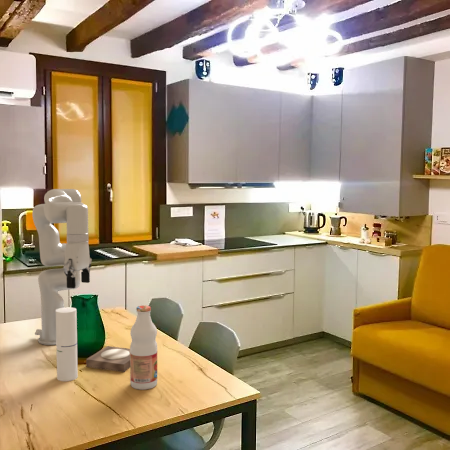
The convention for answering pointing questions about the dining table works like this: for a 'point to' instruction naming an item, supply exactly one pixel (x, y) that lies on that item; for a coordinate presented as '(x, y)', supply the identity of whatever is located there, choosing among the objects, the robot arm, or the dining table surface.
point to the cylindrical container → (66, 343)
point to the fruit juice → (143, 351)
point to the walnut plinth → (110, 359)
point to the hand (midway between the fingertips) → (78, 285)
